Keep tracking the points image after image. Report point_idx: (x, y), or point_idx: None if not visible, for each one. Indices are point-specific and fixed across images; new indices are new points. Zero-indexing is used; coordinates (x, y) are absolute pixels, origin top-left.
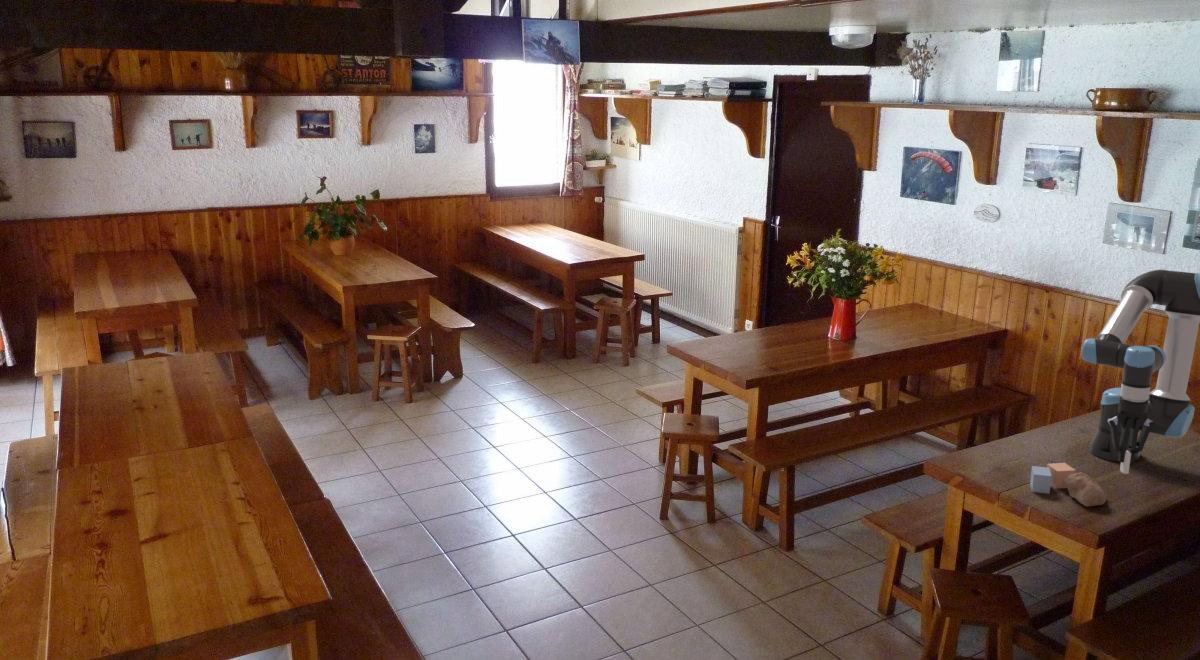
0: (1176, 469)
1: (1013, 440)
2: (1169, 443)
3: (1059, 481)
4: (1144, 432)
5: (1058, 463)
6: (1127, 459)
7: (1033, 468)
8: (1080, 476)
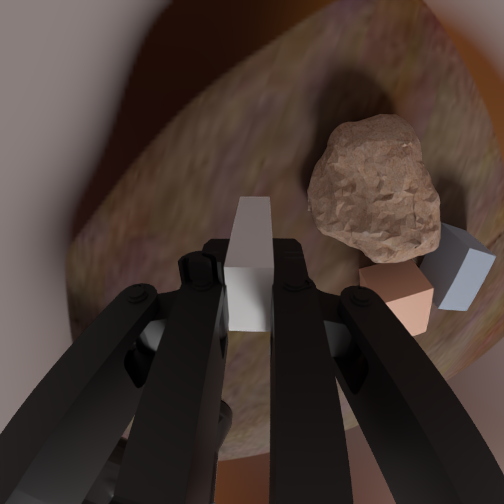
0: None
1: (346, 426)
2: None
3: (409, 270)
4: (40, 466)
5: None
6: (253, 238)
7: (473, 295)
8: (430, 216)
